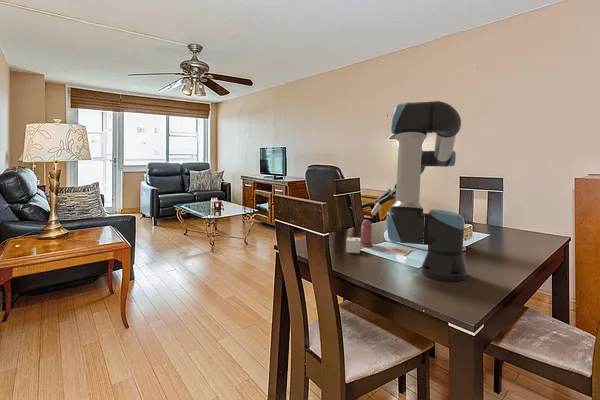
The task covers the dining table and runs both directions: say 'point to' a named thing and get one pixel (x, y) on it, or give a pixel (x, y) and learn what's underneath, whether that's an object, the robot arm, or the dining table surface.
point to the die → (353, 245)
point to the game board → (389, 249)
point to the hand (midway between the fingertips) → (382, 215)
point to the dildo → (366, 233)
